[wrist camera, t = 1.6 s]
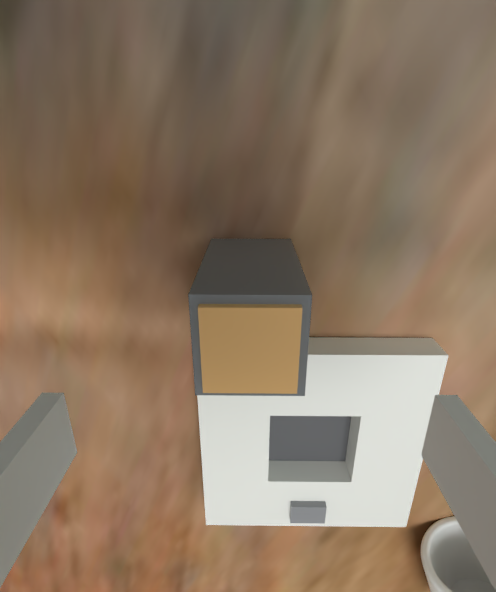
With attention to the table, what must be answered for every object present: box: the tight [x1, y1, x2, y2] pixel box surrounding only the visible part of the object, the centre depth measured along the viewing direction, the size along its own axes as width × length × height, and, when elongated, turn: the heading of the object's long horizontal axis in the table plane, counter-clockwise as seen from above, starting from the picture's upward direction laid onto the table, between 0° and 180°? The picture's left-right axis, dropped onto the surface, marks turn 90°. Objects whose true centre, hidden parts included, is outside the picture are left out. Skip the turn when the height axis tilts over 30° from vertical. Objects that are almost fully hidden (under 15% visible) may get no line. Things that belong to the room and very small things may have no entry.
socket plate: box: [197, 337, 448, 527], centre depth 31 cm, size 18×18×3 cm
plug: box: [188, 239, 312, 396], centre depth 22 cm, size 6×6×10 cm
